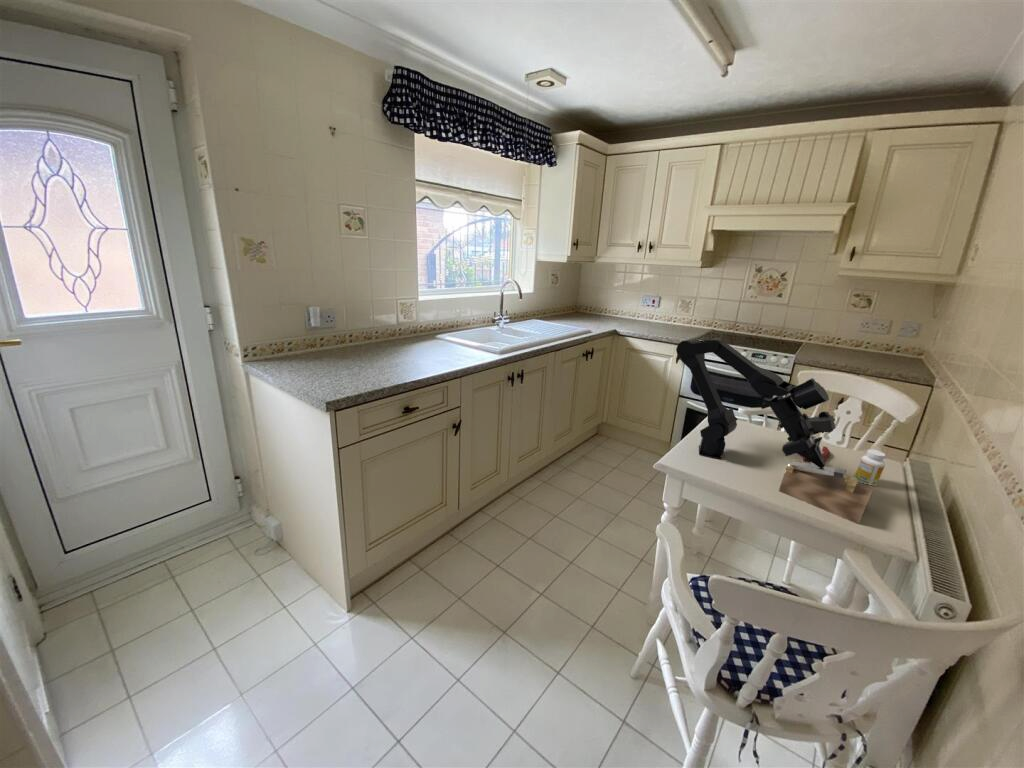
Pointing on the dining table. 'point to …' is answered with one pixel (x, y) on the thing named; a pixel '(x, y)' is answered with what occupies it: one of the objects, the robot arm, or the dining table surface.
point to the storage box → (828, 492)
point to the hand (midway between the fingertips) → (822, 467)
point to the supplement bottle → (870, 467)
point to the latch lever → (818, 469)
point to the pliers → (824, 455)
